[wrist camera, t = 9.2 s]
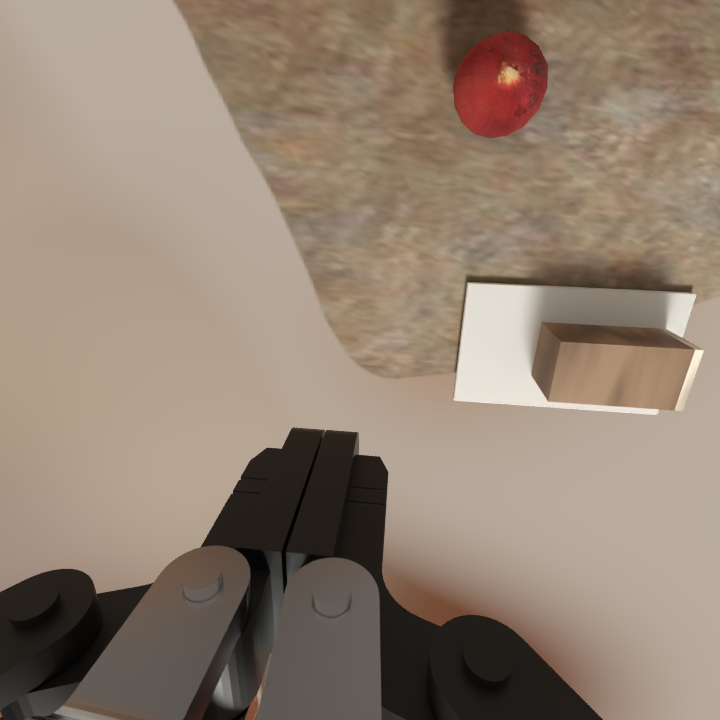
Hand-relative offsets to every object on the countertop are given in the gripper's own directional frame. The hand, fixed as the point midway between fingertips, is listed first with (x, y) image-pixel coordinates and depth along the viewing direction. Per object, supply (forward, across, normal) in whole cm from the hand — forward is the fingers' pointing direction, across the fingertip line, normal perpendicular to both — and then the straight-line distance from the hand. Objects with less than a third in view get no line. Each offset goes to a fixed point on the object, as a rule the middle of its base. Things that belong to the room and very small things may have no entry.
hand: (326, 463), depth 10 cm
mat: (+29, -16, +7) cm, 34 cm away
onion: (+29, -7, -12) cm, 32 cm away
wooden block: (+26, -14, +7) cm, 30 cm away
